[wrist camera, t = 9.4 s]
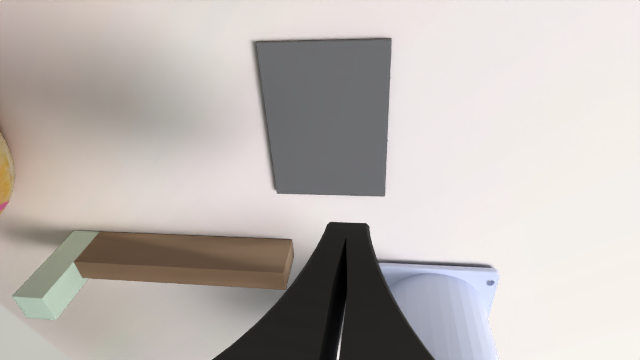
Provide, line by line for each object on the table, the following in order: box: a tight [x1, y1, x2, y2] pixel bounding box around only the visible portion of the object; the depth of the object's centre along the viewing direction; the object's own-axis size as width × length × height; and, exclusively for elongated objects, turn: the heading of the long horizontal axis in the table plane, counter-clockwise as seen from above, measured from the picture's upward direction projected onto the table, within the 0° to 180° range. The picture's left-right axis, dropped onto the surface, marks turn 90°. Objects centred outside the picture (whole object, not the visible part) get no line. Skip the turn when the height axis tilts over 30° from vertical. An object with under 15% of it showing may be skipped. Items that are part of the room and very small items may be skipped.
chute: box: [12, 231, 294, 320], centre depth 21 cm, size 21×16×6 cm
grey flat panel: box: [256, 38, 391, 196], centre depth 22 cm, size 9×6×1 cm
